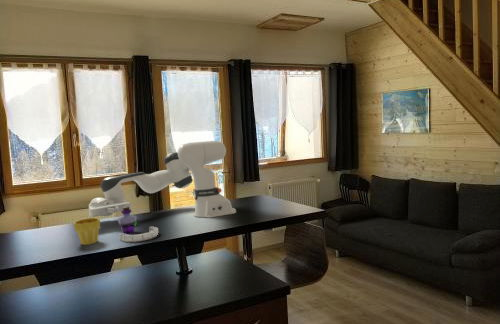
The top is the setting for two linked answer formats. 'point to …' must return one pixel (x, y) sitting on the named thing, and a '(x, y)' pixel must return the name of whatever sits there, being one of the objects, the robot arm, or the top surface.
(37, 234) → the top surface
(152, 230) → the white segmented arc
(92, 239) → the plant pot
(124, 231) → the potion bottle
